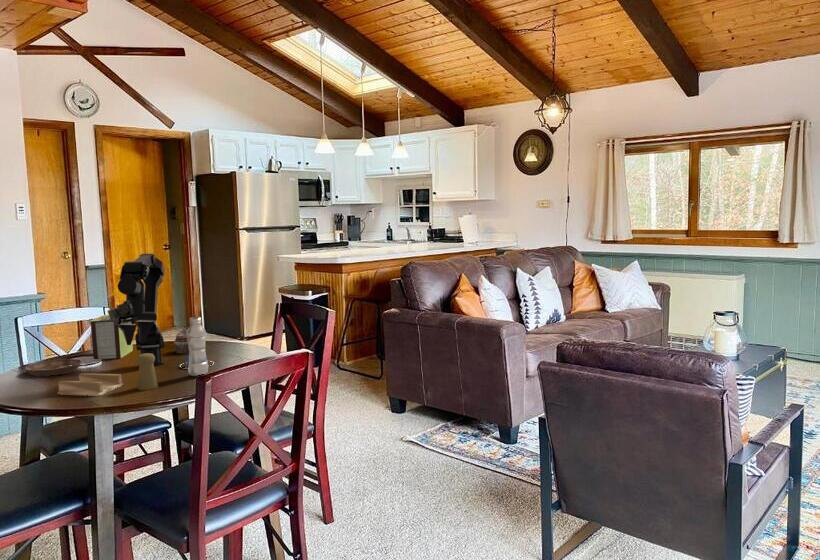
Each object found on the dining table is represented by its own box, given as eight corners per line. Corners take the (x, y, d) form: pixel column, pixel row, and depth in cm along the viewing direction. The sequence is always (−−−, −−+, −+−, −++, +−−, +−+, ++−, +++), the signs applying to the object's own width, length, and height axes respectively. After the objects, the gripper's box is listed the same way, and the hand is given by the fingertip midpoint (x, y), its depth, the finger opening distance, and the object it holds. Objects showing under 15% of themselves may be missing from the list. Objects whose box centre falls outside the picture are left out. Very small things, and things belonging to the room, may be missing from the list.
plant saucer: (29, 369, 224) (28, 361, 223) (84, 364, 231) (83, 356, 231) (21, 381, 208) (20, 372, 207) (80, 374, 215) (79, 366, 215)
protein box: (133, 350, 253) (130, 313, 251) (121, 359, 238) (118, 319, 236) (106, 351, 251) (104, 314, 250) (92, 360, 236) (89, 320, 235)
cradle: (84, 384, 201) (83, 372, 201) (123, 385, 199) (122, 373, 198) (57, 394, 189) (56, 382, 189) (98, 395, 187) (97, 383, 187)
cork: (150, 390, 192) (148, 356, 191) (133, 389, 193) (131, 355, 192) (162, 385, 198) (160, 351, 197) (145, 384, 199) (143, 351, 198)
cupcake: (181, 349, 254) (180, 325, 252) (203, 349, 253) (202, 325, 251) (170, 354, 244) (168, 329, 243) (193, 354, 243) (192, 329, 242)
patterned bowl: (221, 363, 228) (220, 349, 228) (201, 371, 217) (200, 356, 216) (193, 361, 232) (192, 348, 231) (172, 369, 220) (171, 355, 220)
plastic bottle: (212, 373, 211) (209, 316, 209) (200, 378, 205) (196, 319, 203) (197, 372, 214) (194, 315, 212) (184, 377, 207) (180, 319, 205)
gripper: (98, 300, 207) (98, 346, 205) (124, 293, 195) (124, 342, 193) (131, 301, 216) (131, 345, 214) (157, 295, 204) (157, 342, 202)
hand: (135, 344), depth 205 cm, fingers open, 9 cm apart
